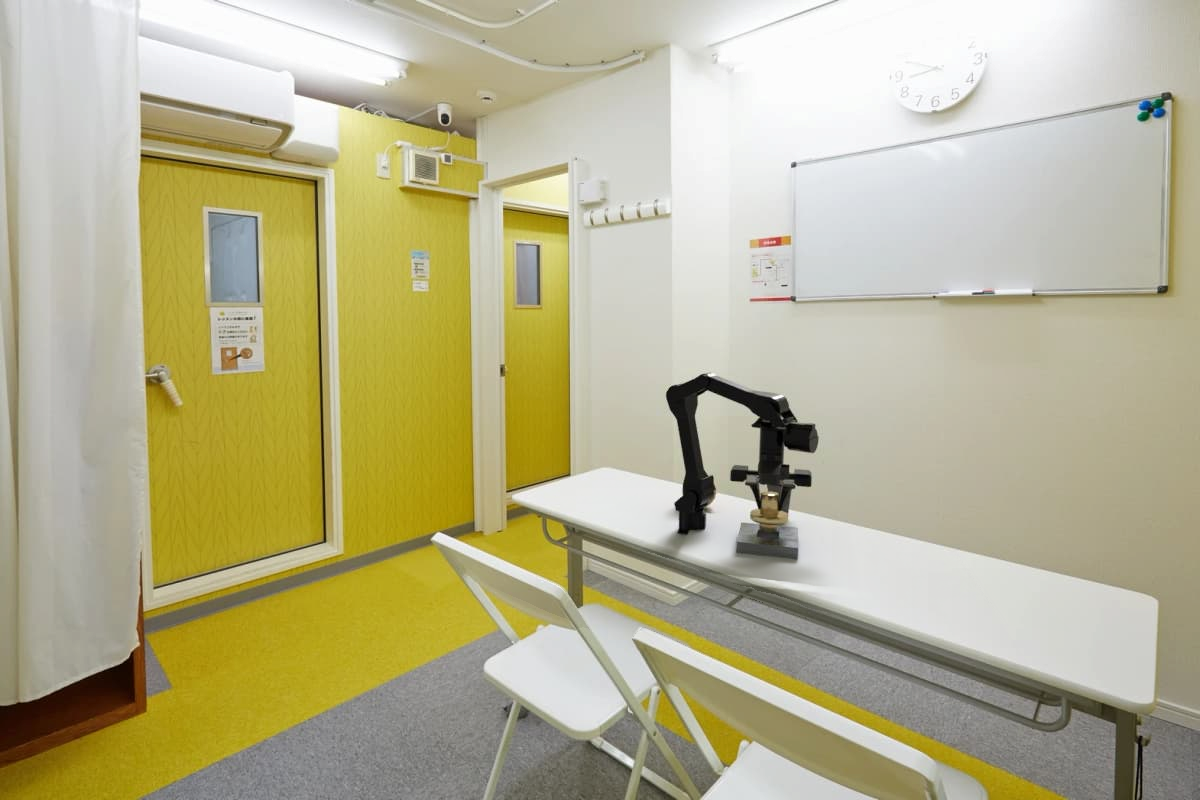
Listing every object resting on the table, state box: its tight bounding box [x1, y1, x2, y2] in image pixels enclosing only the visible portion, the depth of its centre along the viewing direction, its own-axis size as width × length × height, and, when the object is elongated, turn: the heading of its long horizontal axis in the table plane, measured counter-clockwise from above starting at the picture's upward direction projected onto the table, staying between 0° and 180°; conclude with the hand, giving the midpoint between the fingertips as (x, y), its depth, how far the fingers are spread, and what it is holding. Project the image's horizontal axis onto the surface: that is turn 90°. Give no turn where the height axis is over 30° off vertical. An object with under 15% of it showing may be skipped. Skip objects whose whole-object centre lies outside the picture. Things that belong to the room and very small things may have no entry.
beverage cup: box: [766, 471, 793, 515], centre depth 176 cm, size 7×7×20 cm
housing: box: [735, 522, 799, 560], centre depth 158 cm, size 14×14×4 cm
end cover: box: [749, 491, 789, 533], centre depth 156 cm, size 9×9×9 cm
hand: (769, 509), depth 156 cm, fingers closed on end cover, 4 cm apart
